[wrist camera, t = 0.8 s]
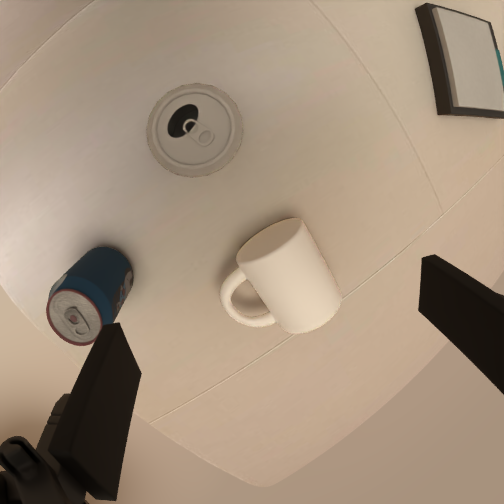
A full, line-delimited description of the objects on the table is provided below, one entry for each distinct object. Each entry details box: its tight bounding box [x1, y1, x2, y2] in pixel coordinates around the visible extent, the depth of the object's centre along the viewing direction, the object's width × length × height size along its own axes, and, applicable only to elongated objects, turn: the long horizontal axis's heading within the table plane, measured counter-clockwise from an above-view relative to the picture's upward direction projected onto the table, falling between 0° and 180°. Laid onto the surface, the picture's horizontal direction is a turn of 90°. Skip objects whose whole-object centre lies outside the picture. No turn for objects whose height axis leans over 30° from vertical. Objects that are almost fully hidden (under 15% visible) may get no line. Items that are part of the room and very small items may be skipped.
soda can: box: [46, 247, 133, 346], centre depth 30 cm, size 7×7×12 cm
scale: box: [415, 3, 504, 119], centre depth 30 cm, size 16×14×4 cm
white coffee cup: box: [220, 218, 342, 334], centre depth 35 cm, size 12×10×8 cm
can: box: [147, 83, 243, 177], centre depth 27 cm, size 8×8×12 cm
